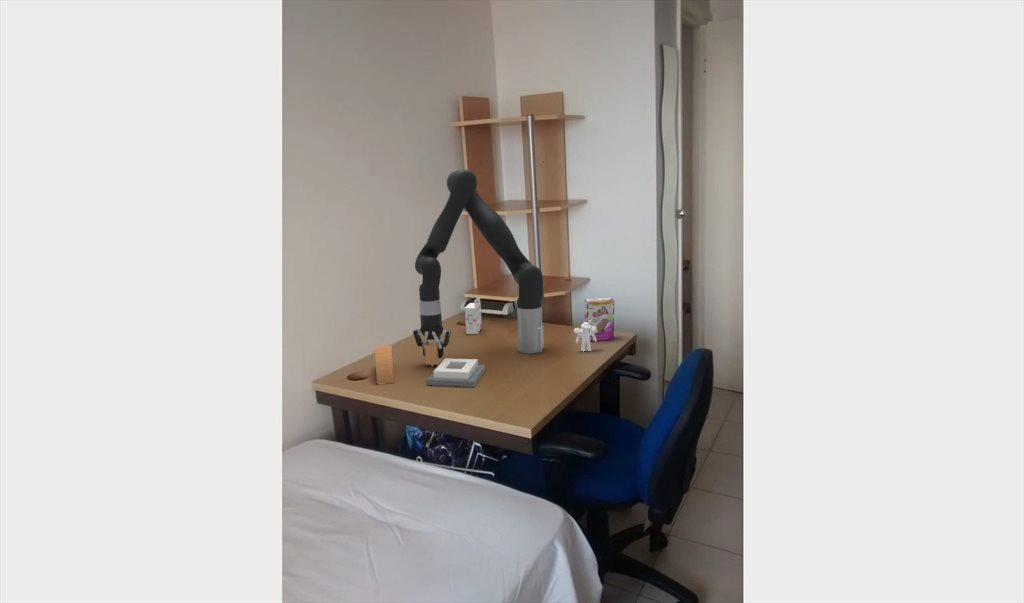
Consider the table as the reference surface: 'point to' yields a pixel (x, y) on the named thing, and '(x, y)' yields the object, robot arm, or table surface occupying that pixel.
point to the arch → (384, 364)
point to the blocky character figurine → (585, 335)
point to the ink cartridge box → (473, 317)
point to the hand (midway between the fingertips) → (433, 357)
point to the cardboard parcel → (432, 353)
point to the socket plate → (457, 382)
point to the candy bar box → (600, 317)
